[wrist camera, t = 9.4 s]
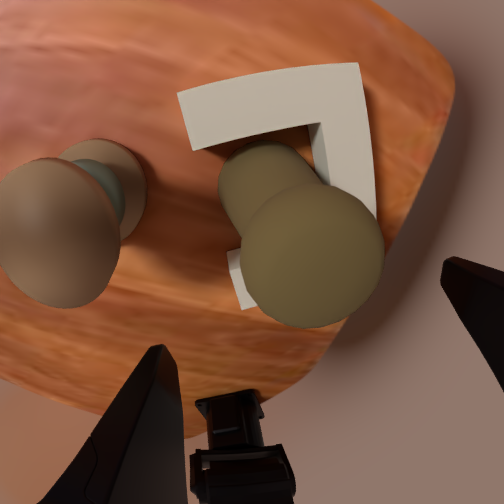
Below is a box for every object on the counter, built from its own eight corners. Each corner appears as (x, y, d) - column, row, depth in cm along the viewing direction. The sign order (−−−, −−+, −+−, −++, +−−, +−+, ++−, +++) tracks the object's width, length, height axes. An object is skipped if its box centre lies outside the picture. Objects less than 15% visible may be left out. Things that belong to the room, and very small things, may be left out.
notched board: (361, 253, 22) (376, 269, 20) (237, 288, 22) (241, 310, 19) (339, 66, 15) (358, 62, 13) (181, 95, 15) (176, 92, 13)
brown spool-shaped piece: (162, 223, 18) (140, 290, 12) (76, 252, 18) (33, 318, 12) (128, 121, 15) (76, 133, 8) (40, 163, 15) (-29, 200, 8)
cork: (212, 144, 16) (220, 200, 7) (309, 137, 17) (424, 185, 7) (222, 234, 19) (241, 365, 10) (310, 224, 20) (391, 334, 10)
